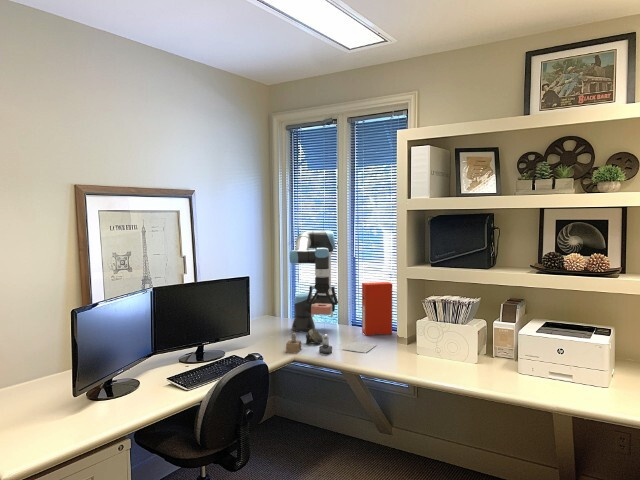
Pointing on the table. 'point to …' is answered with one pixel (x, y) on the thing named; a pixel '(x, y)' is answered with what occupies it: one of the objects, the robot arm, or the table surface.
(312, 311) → the salmon square frame
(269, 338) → the table surface
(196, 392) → the table surface
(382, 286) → the file binder
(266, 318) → the table surface
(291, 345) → the stand
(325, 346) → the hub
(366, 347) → the paper stack
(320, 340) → the fossil
